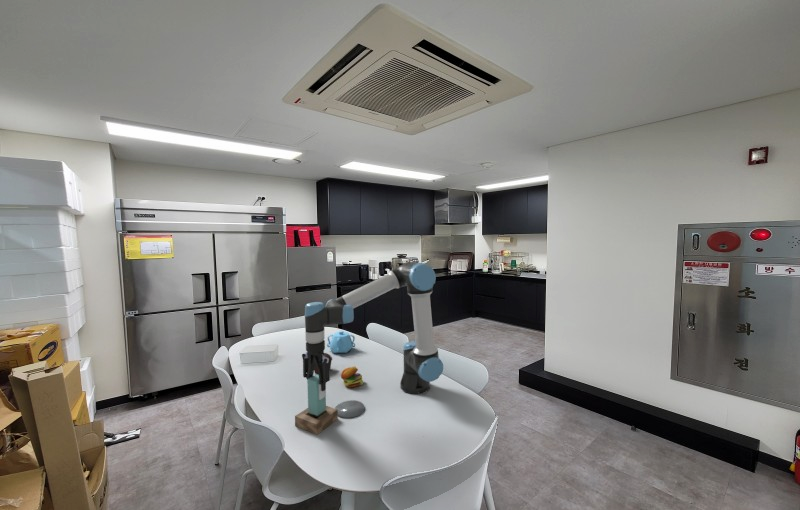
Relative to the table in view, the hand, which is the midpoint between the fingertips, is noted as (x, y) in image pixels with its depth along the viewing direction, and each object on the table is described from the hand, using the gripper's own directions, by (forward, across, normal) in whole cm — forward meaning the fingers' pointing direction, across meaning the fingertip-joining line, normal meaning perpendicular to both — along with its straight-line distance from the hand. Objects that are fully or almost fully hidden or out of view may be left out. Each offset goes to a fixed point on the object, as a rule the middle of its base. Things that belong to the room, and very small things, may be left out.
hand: (316, 396), depth 126 cm
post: (+6, 0, 0) cm, 6 cm away
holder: (+11, 0, 0) cm, 11 cm away
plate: (+11, -6, -14) cm, 19 cm away
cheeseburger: (+11, +9, -34) cm, 37 cm away
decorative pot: (+11, +46, -70) cm, 84 cm away
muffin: (+11, +34, -39) cm, 53 cm away
